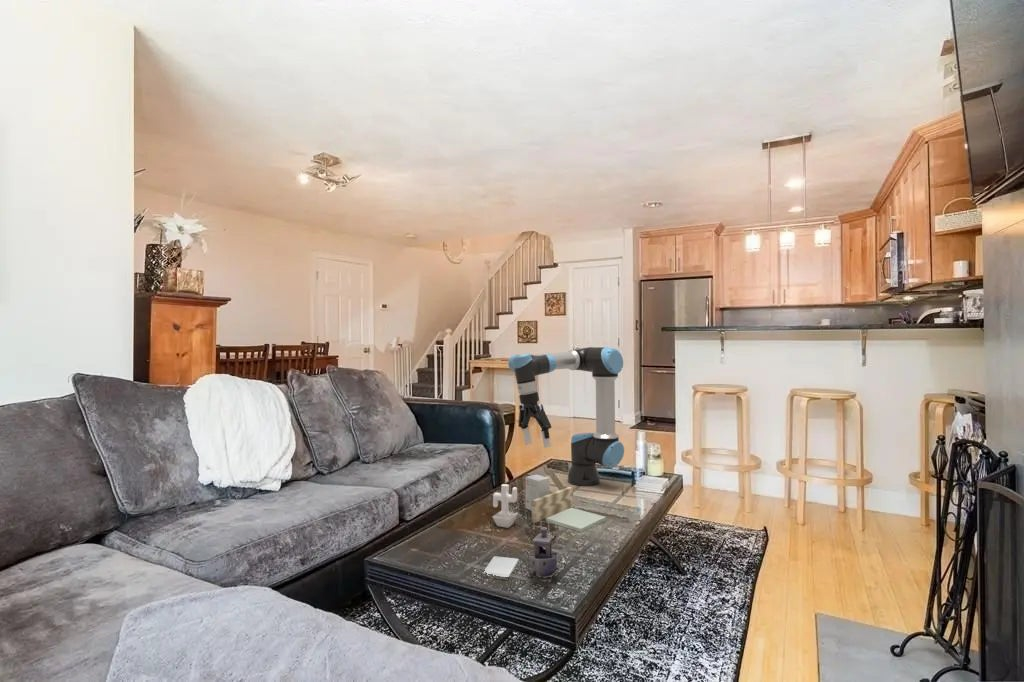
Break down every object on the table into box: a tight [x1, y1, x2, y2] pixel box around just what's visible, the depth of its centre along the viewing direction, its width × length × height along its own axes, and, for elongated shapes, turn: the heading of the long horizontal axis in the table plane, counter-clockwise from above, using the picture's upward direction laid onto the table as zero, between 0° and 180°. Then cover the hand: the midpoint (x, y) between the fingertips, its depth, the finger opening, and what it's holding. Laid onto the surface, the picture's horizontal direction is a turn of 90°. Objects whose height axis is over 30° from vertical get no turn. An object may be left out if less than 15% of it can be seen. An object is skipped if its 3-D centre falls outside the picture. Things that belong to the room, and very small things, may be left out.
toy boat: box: [528, 526, 560, 579], centre depth 148 cm, size 15×8×13 cm, turn 164°
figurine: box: [491, 483, 518, 529], centre depth 188 cm, size 7×9×15 cm
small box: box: [524, 474, 551, 512], centre depth 204 cm, size 8×6×13 cm
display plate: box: [545, 507, 607, 533], centre depth 192 cm, size 16×16×1 cm
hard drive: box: [483, 555, 520, 577], centre depth 152 cm, size 2×8×12 cm
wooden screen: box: [531, 486, 574, 524], centre depth 199 cm, size 24×2×8 cm, turn 137°
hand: (537, 445), depth 201 cm, fingers open, 13 cm apart
